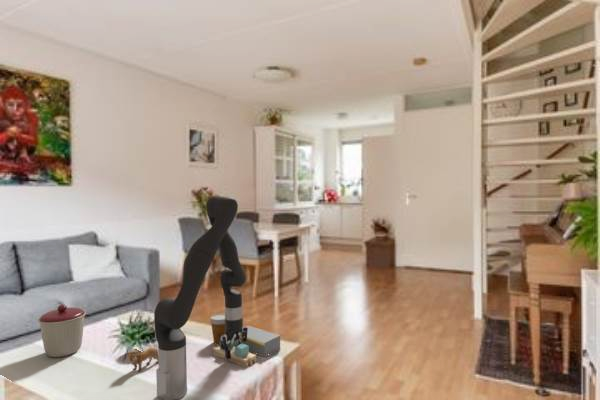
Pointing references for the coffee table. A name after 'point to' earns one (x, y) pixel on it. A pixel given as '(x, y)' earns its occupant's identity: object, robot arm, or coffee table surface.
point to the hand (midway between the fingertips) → (234, 355)
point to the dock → (261, 341)
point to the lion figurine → (142, 357)
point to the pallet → (235, 356)
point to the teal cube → (241, 350)
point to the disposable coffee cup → (218, 326)
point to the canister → (62, 330)
